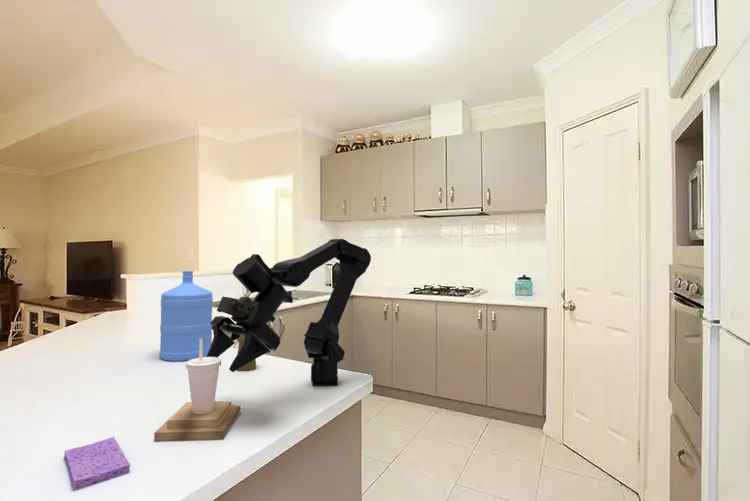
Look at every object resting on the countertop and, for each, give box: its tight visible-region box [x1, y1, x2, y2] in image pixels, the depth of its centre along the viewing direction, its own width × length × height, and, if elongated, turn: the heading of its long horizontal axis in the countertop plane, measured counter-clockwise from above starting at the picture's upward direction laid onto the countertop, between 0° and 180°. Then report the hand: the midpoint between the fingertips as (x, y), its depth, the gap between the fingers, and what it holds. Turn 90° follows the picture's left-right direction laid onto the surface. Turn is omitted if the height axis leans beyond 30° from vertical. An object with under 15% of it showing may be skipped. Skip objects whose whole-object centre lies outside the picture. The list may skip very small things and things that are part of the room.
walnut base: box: [153, 400, 242, 442], centre depth 76 cm, size 12×12×3 cm
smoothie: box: [185, 339, 222, 414], centre depth 76 cm, size 6×6×14 cm
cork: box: [236, 335, 257, 372], centre depth 115 cm, size 6×6×11 cm
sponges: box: [63, 436, 131, 491], centre depth 62 cm, size 7×13×2 cm, turn 43°
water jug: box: [159, 270, 214, 362], centre depth 129 cm, size 16×16×28 cm
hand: (218, 366), depth 79 cm, fingers open, 9 cm apart
